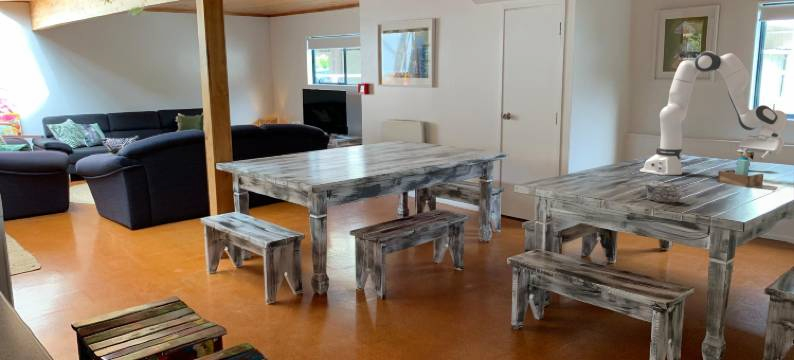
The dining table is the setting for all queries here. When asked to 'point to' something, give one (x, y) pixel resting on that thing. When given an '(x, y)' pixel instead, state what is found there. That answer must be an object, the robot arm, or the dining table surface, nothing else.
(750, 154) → the toy
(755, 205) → the dining table surface
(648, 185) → the rock
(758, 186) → the coaster
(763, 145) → the robot arm
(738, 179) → the crate
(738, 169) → the block
